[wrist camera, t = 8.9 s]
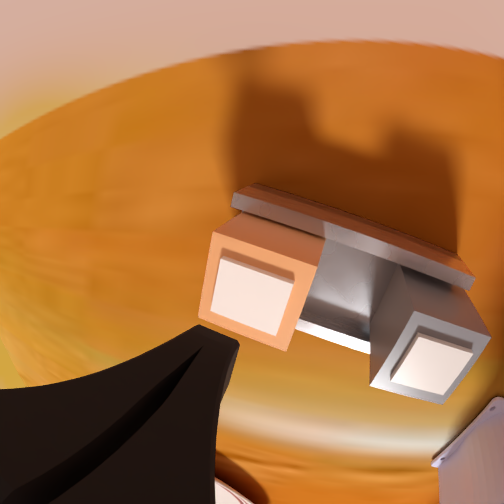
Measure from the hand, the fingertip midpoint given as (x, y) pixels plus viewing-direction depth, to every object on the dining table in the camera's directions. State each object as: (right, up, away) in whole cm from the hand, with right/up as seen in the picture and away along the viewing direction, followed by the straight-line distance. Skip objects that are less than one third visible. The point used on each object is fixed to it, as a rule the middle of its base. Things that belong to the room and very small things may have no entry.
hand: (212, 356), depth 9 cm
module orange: (+3, +3, +7) cm, 9 cm away
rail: (+6, +2, +8) cm, 10 cm away
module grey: (+10, 0, +6) cm, 12 cm away
